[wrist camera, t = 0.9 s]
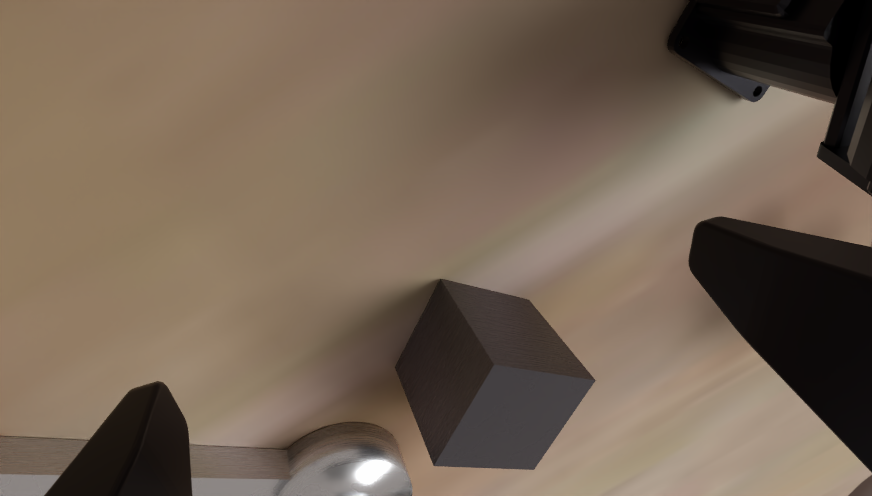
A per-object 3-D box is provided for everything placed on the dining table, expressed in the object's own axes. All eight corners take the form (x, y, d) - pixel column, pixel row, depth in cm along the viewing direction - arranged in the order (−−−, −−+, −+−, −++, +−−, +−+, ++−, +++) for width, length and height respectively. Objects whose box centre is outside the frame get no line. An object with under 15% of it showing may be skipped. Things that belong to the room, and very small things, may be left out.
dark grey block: (529, 299, 27) (595, 380, 22) (481, 379, 29) (533, 469, 24) (440, 278, 25) (494, 364, 20) (395, 367, 26) (433, 465, 22)
